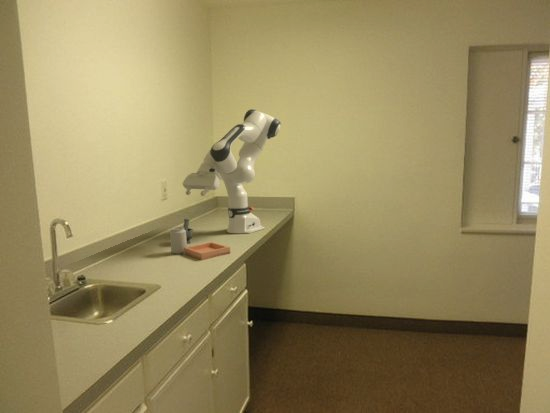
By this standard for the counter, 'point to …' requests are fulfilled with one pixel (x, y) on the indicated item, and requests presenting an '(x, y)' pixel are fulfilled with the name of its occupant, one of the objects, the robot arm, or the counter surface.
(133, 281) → the counter surface
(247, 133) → the robot arm
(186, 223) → the mortar and pestle
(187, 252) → the dish
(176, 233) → the can
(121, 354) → the counter surface
